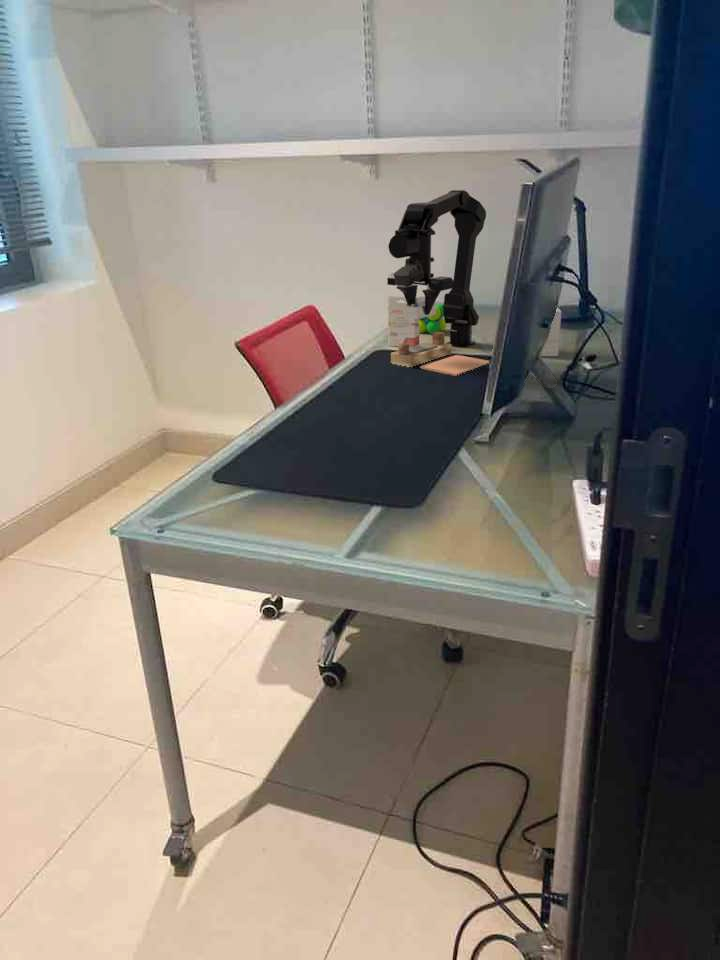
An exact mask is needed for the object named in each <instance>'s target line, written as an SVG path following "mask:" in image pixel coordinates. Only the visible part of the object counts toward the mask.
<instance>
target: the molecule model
mask: <svg viewBox="0 0 720 960" xmlns="http://www.w3.org/2000/svg"><path fill="white" fill-rule="evenodd" d="M443 305H444V303H436V315H432V316H428V317H424V318H420V319H419V334H422V333H425V332H426V331H427V332H428V334H430V335H432V334H433V333H436V332H444V330H446V328H447V323H445V319H444V313H443Z"/></svg>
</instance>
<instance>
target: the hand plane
mask: <svg viewBox="0 0 720 960" xmlns="http://www.w3.org/2000/svg"><path fill="white" fill-rule="evenodd" d="M431 335H432V338H431V339H432V340H431V341H428V342H423V343H419V345H415V346H412V347H409V344H399V346H398V350H396V351H393V352H390V364H391V363H392V365H395V364H396V366H400V365H401V366H400V367H404V366H406V367H405V368H409V367H411V368H414V367H413V366H415V367H416V365H418V366H420V365H419V364H421V365H424V364H426V363H425V362H427V363H429V362H428V361H430V362H432V361H431V360H434V359H437V358H440V357H443V356H446V355H449V356H452V345H451V344H446V343H447V342H445V341H446V340H445V337H446V335H445V331H440V332H436V333H433V334H431ZM446 357H447V356H446ZM443 358H444V357H443ZM440 359H441V358H440ZM437 360H438V359H437ZM434 361H435V360H434ZM423 363H424V364H423Z"/></svg>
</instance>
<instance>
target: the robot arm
mask: <svg viewBox="0 0 720 960" xmlns="http://www.w3.org/2000/svg"><path fill="white" fill-rule="evenodd" d="M447 213H450V215H451V216H452V217H453V219H454V229H455V230H456V233H457V235H458V238H457V239H458V241H457V249H456V255H455V257H456V258H455V266H454V272H453V278H452V277H451V276H442V275H441V276H436V277H435V276H434V275H435V274H434V273H433V272H432V271H431V270H432V269H431V268H432V267H431V266H432V262H433V263H434V262H435V258H434V256H433V257H432V236H434V235H436V231H435V230H434V229H433V226H434V225H436V224H437V222H438V221H439V217H441V216H443V215H445V214H447ZM486 219H487V211H486V209H485V207H484V206H483V205H482V203H481V202H480V201H479V200H478V199H476V198H474V197H472V196H471V195H470V194H469V192H468V191H466V190H461V189H459V190H457V189H453V190H450V191H448V193H445V194H443V195H441V196H439V197H436V198H434V199H432V200H430V201H426V202H413V203H409V204H408V205H407V207H406V209H405V211H404V214H403V216H402V219H401V220H400V221H401V222H400V224H399V226H398V229H396V230H394V236H392V237H391V238H390V240H389V243H388V251H389V254H390V255H391V256H392V257H393V258H395V259H402V258H405V260H404V261H405V262H404V266H402V267H400V268H399V269H397V270H396V271H395V272H394V273H393V272H392V273H389V274H388V276H387V279H386V280H387V283H386V285H388V286H396V288H395V289H397V290H399V291H401V292H402V294H403V297H405V299H406V301H407V304H413V303H415V298H417V292H418V286H419V285H420V286H426V289H422V290H421V292H422V293H423V294H424V297H425V314H426V315H429V313H430V311H431V309H432V307H433V305H434V303H436V300H437V299H438V296H439V295H440V293H441V292H443V291H447V290H450V291H448V293H445V294H444V299H443V313H444V317H443V319H444V320H445V323H446V324H450V330H449V341H448V342H447V341H446V342H445V343H446V344H451V346H454V347H460V348H466V347H468V346H472V345H475V344H476V341H473V340H472V332H473V331H472V330H473V329H472V328H473V326H477V325H478V324H479V323H478V322H479V319H480V316H479V314H478V313H477V311H476V309H475V307H474V297H473V295H472V292H471V291H470V289H471V287H470V286H471V279H472V272H473V264H474V258H475V257H474V256H475V249H476V241H477V237H478V236H479V235H480V233H481V232H482V230H483V229H484V224H485V220H486ZM431 272H432V273H431ZM406 301H405V302H406Z"/></svg>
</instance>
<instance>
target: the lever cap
mask: <svg viewBox="0 0 720 960" xmlns="http://www.w3.org/2000/svg"><path fill="white" fill-rule="evenodd" d="M436 305H437V303H436V302H435V303H434V305H433V307H432V309H431V311H430V313H429V315H426V314H425V296H422V295H421V296H418V297H417V296H416V298H415V303H413V304H408V305H404V306H403V317H407V318H413V319H420V318H424V317H428V316H432V315H436Z"/></svg>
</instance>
